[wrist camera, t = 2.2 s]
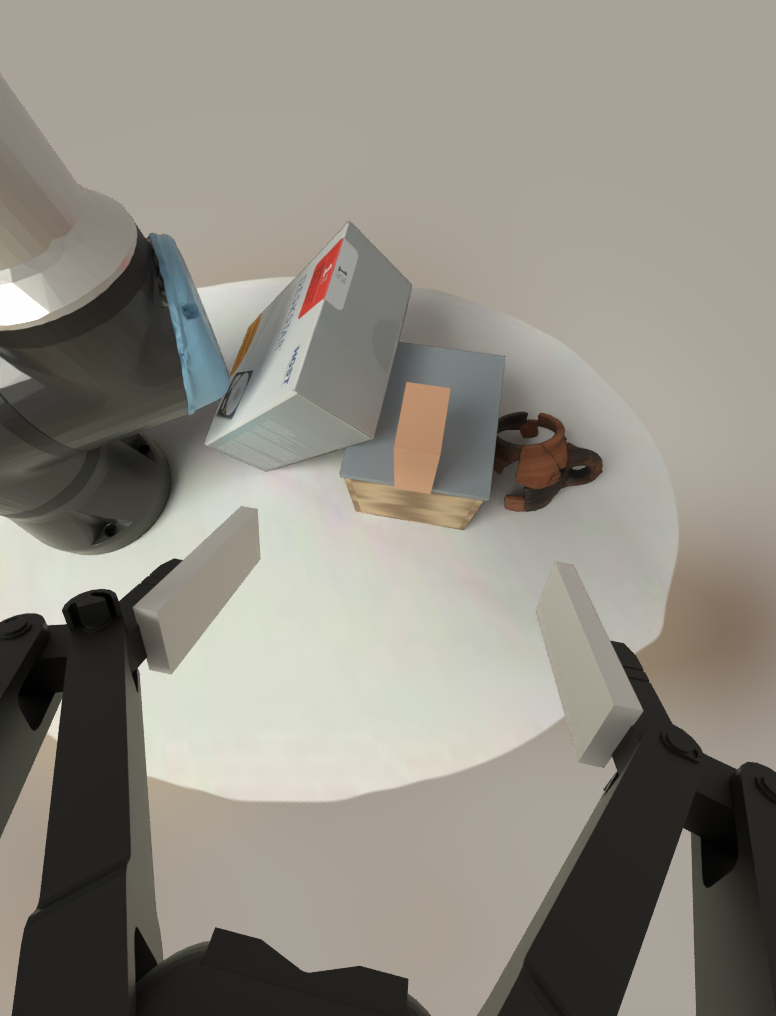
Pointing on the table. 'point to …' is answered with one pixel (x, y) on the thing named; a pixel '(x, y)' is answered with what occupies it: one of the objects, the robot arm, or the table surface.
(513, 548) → the table surface
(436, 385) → the lid
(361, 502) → the carton
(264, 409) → the hard drive box
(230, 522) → the robot arm
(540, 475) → the pottery mug
